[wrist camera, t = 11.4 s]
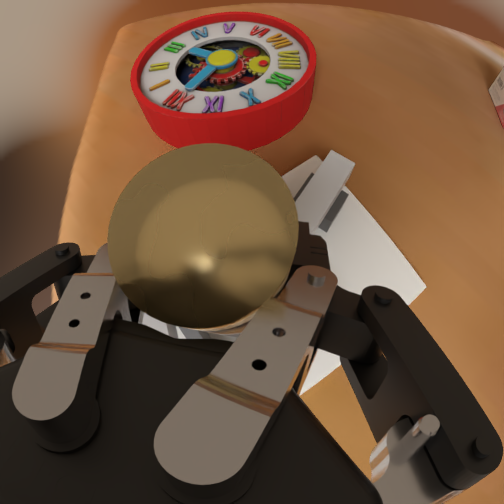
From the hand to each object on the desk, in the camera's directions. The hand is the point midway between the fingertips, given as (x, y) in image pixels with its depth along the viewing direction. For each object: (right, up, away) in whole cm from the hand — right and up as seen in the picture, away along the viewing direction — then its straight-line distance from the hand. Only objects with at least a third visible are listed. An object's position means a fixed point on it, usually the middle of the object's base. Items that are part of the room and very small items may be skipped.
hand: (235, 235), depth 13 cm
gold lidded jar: (0, -3, +3) cm, 4 cm away
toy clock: (-2, +19, +20) cm, 28 cm away
